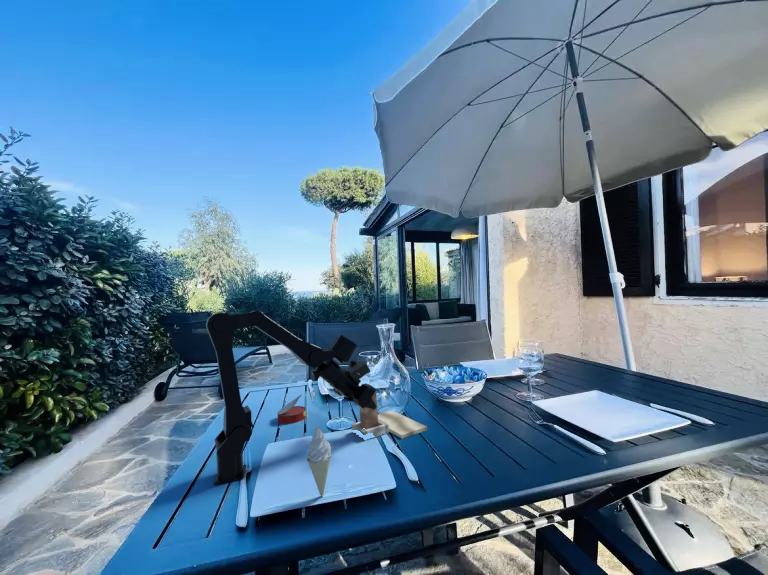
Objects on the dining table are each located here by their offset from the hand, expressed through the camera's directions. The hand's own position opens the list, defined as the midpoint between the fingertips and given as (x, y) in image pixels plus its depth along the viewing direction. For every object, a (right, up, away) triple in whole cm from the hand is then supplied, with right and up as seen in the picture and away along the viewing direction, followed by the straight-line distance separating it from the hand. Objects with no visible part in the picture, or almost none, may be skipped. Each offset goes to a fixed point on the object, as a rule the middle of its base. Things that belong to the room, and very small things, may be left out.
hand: (372, 406), depth 100 cm
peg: (-1, -7, -1) cm, 7 cm away
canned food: (-29, -11, +17) cm, 36 cm away
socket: (+4, -8, +2) cm, 8 cm away
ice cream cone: (-9, -7, -32) cm, 34 cm away
